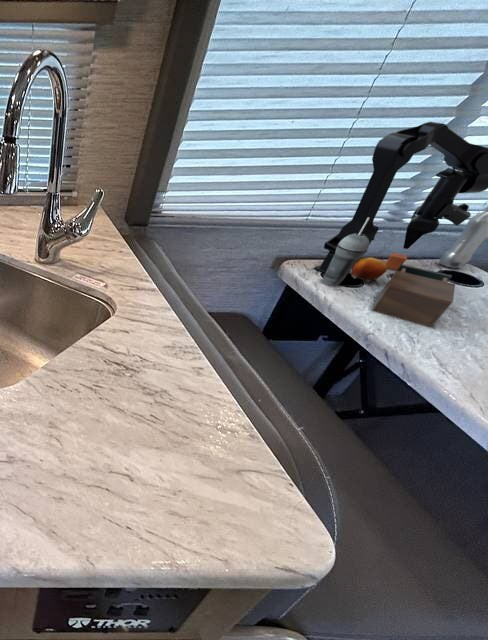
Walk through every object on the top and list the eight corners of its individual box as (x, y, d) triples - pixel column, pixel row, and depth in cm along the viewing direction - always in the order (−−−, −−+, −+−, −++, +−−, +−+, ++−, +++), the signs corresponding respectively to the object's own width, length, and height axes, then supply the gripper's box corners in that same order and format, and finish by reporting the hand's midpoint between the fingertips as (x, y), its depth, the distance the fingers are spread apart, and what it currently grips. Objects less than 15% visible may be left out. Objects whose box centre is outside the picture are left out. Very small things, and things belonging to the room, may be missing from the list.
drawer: (390, 277, 124) (402, 259, 120) (438, 288, 117) (452, 270, 114) (382, 295, 115) (395, 277, 111) (433, 309, 108) (449, 290, 105)
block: (398, 270, 129) (406, 259, 126) (383, 267, 131) (390, 255, 128) (399, 266, 131) (407, 255, 128) (384, 263, 133) (392, 252, 131)
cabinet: (379, 293, 117) (396, 270, 112) (435, 308, 110) (455, 284, 106) (372, 310, 110) (389, 286, 105) (430, 327, 103) (452, 302, 98)
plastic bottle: (464, 272, 127) (517, 209, 114) (437, 267, 130) (486, 205, 117) (459, 264, 132) (510, 203, 119) (433, 260, 134) (480, 200, 121)
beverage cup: (318, 285, 122) (356, 220, 109) (315, 275, 127) (352, 213, 114) (346, 290, 119) (388, 224, 106) (342, 280, 124) (382, 216, 111)
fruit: (346, 277, 123) (361, 252, 121) (342, 281, 129) (357, 258, 127) (378, 284, 119) (395, 259, 116) (373, 289, 125) (388, 265, 123)
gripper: (480, 206, 107) (438, 260, 117) (481, 192, 117) (442, 243, 127) (426, 198, 113) (391, 250, 123) (432, 185, 123) (398, 234, 133)
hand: (407, 244), depth 126 cm, fingers open, 9 cm apart
